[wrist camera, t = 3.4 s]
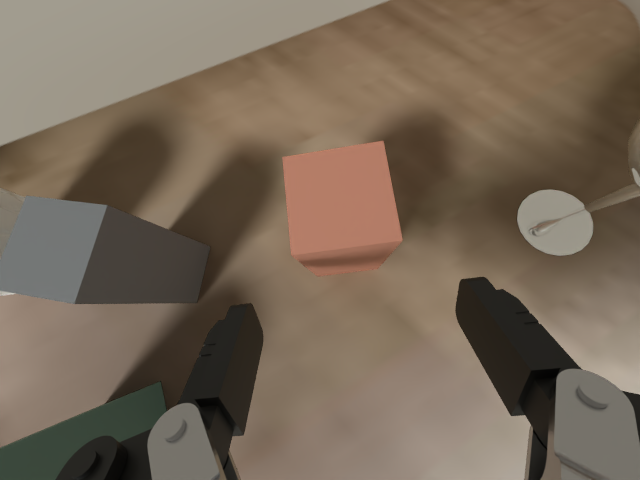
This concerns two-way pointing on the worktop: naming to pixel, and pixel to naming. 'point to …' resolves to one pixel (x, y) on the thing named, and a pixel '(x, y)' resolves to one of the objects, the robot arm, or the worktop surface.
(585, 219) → the wineglass
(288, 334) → the worktop surface
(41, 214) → the charcoal pillar
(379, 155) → the red pillar
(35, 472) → the green pillar
